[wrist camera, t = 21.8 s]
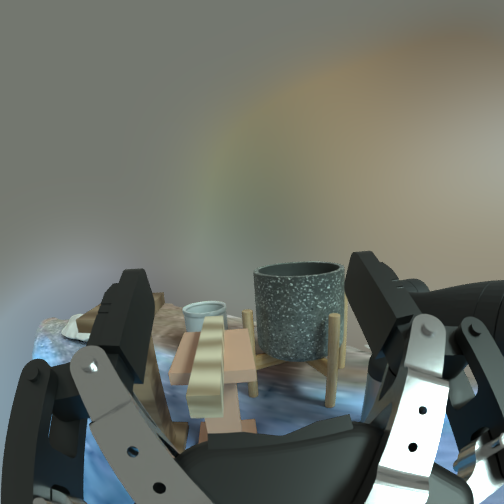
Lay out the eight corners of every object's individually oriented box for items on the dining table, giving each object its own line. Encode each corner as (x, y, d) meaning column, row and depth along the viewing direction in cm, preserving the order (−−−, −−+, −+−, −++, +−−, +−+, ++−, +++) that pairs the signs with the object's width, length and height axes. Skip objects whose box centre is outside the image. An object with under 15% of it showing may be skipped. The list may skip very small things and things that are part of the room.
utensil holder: (180, 355, 91) (173, 308, 89) (208, 341, 103) (203, 298, 101) (211, 366, 82) (204, 315, 81) (239, 349, 94) (235, 303, 93)
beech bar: (223, 417, 25) (220, 395, 24) (190, 418, 24) (185, 396, 24) (224, 330, 50) (223, 315, 50) (206, 331, 50) (204, 316, 50)
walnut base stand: (181, 476, 36) (137, 319, 33) (130, 471, 35) (75, 319, 32) (188, 426, 52) (163, 292, 49) (147, 425, 51) (115, 294, 48)
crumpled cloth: (97, 319, 126) (91, 303, 124) (124, 335, 104) (117, 316, 102) (60, 335, 108) (53, 319, 106) (78, 358, 86) (69, 338, 85)
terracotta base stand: (263, 473, 37) (255, 368, 35) (197, 477, 36) (168, 373, 34) (255, 423, 53) (247, 328, 51) (201, 426, 52) (184, 332, 50)
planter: (247, 396, 65) (237, 276, 62) (276, 359, 85) (271, 261, 82) (333, 408, 56) (339, 277, 53) (345, 365, 76) (347, 260, 73)
